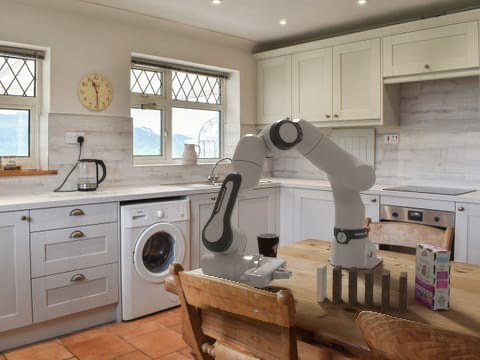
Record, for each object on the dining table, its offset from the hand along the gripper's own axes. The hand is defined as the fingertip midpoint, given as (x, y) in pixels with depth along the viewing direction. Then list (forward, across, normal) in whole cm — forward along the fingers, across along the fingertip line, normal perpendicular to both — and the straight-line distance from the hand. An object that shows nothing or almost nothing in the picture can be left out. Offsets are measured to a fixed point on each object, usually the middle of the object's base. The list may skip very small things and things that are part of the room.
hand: (290, 275), depth 137 cm
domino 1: (+14, 0, +6) cm, 15 cm away
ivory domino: (+10, 0, +6) cm, 11 cm away
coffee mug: (-20, +36, +6) cm, 42 cm away
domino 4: (+28, 0, +6) cm, 28 cm away
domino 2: (+18, 0, +6) cm, 20 cm away
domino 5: (+32, 0, +6) cm, 33 cm away
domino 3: (+23, 0, +6) cm, 24 cm away
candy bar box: (+39, +8, +6) cm, 40 cm away
